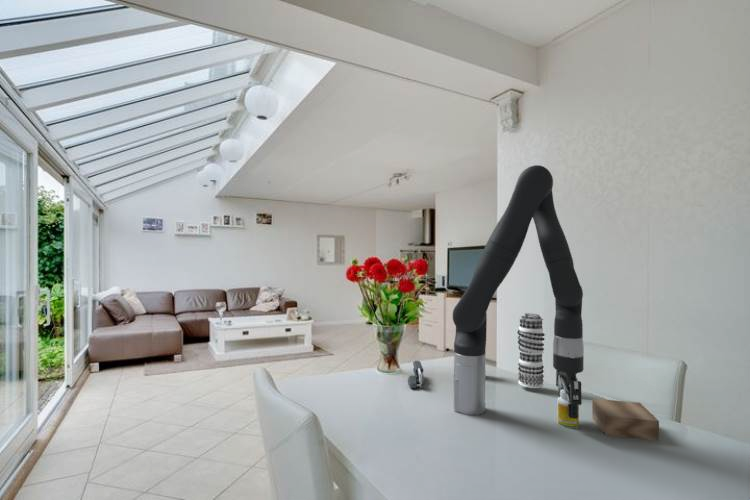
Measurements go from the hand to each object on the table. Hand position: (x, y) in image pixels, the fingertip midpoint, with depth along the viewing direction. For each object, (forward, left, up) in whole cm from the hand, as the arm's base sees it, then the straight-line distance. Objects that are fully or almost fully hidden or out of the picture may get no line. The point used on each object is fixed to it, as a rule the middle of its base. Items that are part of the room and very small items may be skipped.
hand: (567, 411), depth 109 cm
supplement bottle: (0, 0, -4) cm, 4 cm away
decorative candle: (-3, +33, -4) cm, 34 cm away
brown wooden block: (+14, 0, -4) cm, 15 cm away
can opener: (-44, +31, -5) cm, 54 cm away
